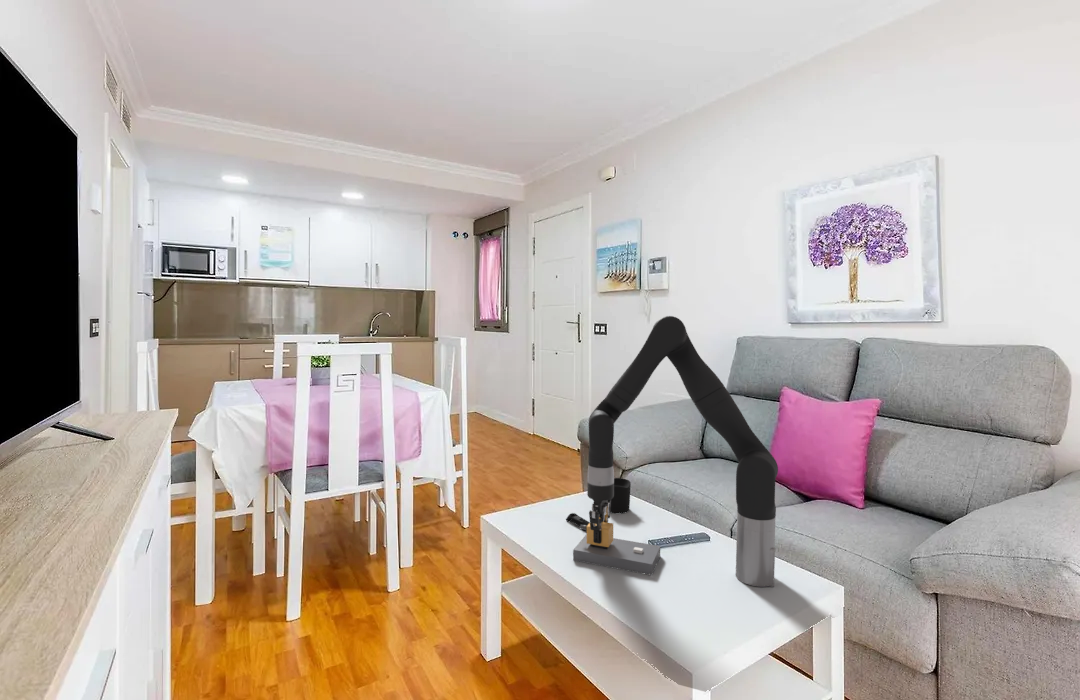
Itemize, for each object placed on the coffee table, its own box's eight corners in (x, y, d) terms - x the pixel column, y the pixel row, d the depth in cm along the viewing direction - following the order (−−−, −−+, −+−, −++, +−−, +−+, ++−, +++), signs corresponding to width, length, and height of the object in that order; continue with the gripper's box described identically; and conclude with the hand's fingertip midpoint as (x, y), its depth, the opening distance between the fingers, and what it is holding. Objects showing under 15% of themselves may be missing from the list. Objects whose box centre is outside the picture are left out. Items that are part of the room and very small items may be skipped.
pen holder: (632, 514, 182) (632, 486, 181) (605, 514, 181) (605, 486, 181) (627, 504, 191) (627, 477, 190) (601, 504, 191) (602, 477, 190)
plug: (613, 550, 151) (613, 523, 151) (608, 557, 147) (608, 529, 146) (583, 545, 155) (583, 518, 154) (577, 551, 150) (577, 524, 150)
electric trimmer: (593, 538, 163) (593, 529, 162) (565, 521, 176) (565, 512, 176) (602, 536, 165) (603, 526, 164) (574, 519, 178) (574, 510, 178)
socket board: (660, 556, 150) (660, 543, 149) (651, 575, 138) (651, 561, 138) (586, 543, 158) (586, 530, 158) (573, 560, 147) (573, 546, 147)
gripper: (606, 489, 141) (605, 551, 142) (620, 475, 154) (619, 531, 155) (579, 486, 144) (579, 546, 145) (595, 472, 157) (595, 527, 158)
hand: (600, 538), depth 150 cm, fingers closed on plug, 4 cm apart
